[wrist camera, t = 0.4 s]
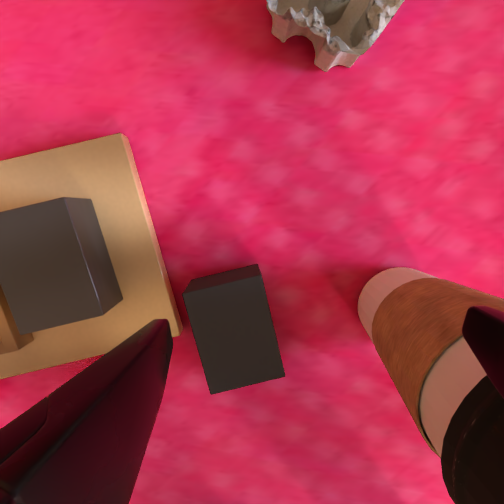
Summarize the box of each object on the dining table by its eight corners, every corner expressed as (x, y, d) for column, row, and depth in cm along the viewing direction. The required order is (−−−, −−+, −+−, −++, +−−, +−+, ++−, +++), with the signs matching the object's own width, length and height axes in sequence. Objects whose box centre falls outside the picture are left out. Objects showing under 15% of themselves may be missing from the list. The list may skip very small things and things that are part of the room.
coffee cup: (317, 298, 22) (438, 522, 7) (411, 225, 20) (799, 318, 6) (382, 374, 23) (600, 698, 8) (475, 310, 22) (927, 562, 7)
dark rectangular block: (278, 350, 22) (285, 376, 19) (214, 366, 22) (210, 395, 19) (257, 263, 21) (261, 274, 18) (190, 279, 21) (181, 293, 18)
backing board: (183, 328, 22) (170, 357, 17) (-68, 389, 21) (-141, 433, 17) (127, 137, 19) (97, 117, 15) (-152, 202, 19) (-261, 201, 15)
